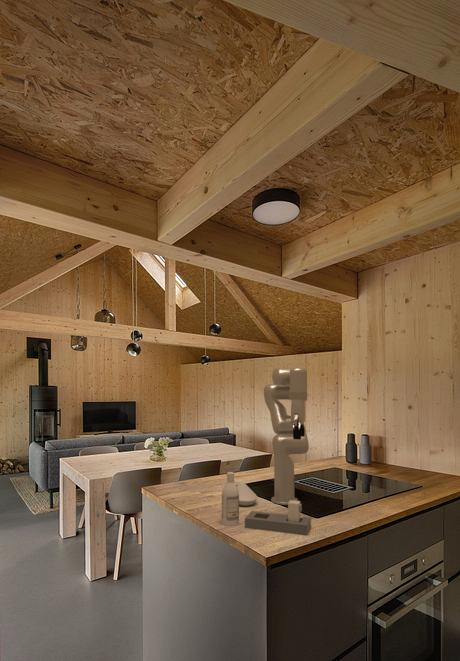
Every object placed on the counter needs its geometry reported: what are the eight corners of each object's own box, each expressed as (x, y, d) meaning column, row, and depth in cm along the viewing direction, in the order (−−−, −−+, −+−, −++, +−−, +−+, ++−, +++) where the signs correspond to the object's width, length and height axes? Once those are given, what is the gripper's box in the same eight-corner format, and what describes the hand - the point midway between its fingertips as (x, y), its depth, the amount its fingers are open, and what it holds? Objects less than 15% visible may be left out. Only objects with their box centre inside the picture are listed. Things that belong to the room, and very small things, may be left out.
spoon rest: (259, 508, 188) (259, 491, 189) (233, 508, 187) (233, 492, 188) (250, 494, 212) (250, 479, 213) (227, 494, 210) (227, 480, 211)
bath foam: (242, 524, 165) (242, 472, 168) (230, 528, 160) (231, 475, 163) (229, 520, 170) (230, 470, 173) (217, 524, 165) (218, 472, 168)
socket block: (251, 521, 170) (251, 510, 170) (310, 528, 162) (310, 517, 162) (244, 529, 160) (244, 517, 161) (307, 536, 153) (306, 525, 153)
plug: (290, 526, 162) (290, 500, 163) (302, 528, 160) (301, 501, 161) (288, 530, 158) (288, 502, 159) (300, 531, 156) (300, 504, 158)
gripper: (293, 396, 187) (293, 435, 185) (285, 397, 171) (286, 439, 169) (310, 396, 185) (310, 435, 182) (304, 397, 168) (304, 440, 166)
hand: (299, 437), depth 175 cm, fingers open, 9 cm apart
